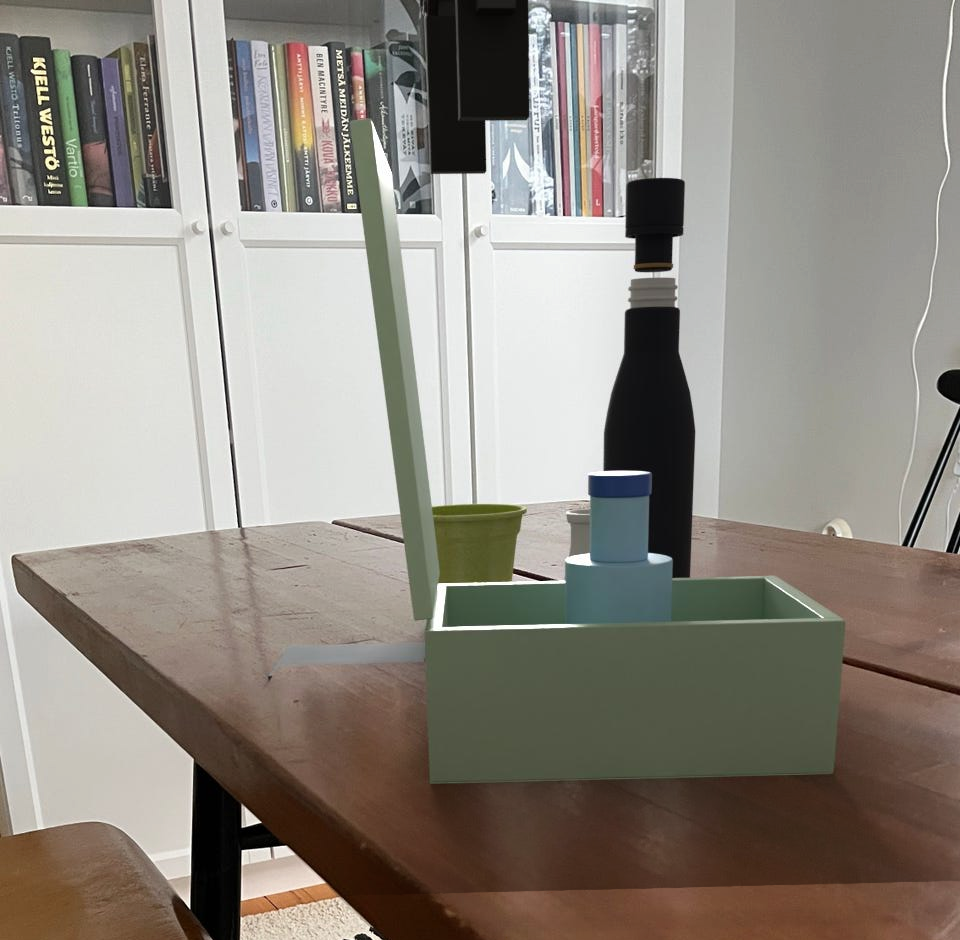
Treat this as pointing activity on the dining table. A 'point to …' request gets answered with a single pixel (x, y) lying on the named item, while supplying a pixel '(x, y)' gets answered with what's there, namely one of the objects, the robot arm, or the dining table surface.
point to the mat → (351, 654)
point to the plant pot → (476, 541)
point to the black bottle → (655, 376)
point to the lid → (397, 365)
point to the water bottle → (618, 557)
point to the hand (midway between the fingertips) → (474, 150)
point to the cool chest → (631, 685)
